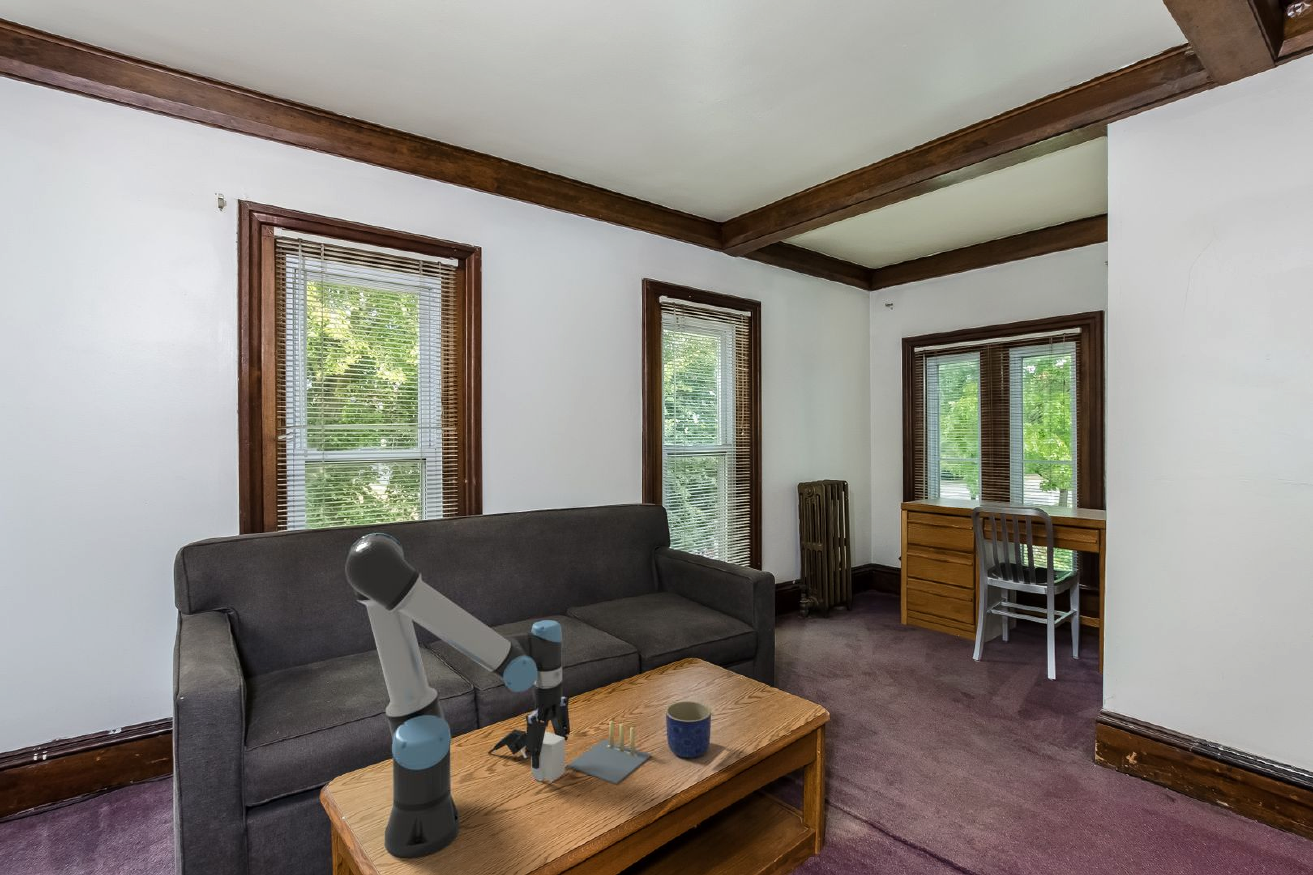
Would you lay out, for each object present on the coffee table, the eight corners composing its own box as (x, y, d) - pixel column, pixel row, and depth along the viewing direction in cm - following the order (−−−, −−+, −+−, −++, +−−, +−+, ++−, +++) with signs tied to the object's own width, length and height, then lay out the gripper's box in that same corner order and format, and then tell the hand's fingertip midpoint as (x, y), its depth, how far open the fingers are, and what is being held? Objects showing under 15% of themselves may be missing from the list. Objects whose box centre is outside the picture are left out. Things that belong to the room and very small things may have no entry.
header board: (616, 784, 152) (615, 754, 152) (567, 766, 160) (566, 738, 160) (651, 755, 165) (651, 728, 165) (604, 740, 174) (604, 714, 174)
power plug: (491, 745, 170) (523, 721, 168) (507, 768, 169) (539, 744, 167) (482, 755, 164) (514, 731, 162) (498, 779, 163) (531, 755, 161)
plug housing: (551, 781, 153) (551, 746, 153) (531, 773, 157) (531, 738, 157) (565, 772, 157) (564, 737, 157) (544, 764, 161) (544, 730, 161)
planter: (720, 749, 168) (720, 709, 168) (691, 767, 159) (691, 725, 159) (686, 734, 177) (685, 697, 177) (656, 751, 168) (656, 711, 168)
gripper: (530, 700, 147) (531, 795, 147) (583, 672, 164) (584, 758, 164) (508, 693, 151) (509, 786, 151) (562, 667, 168) (563, 751, 168)
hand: (548, 771), depth 157 cm, fingers open, 7 cm apart
